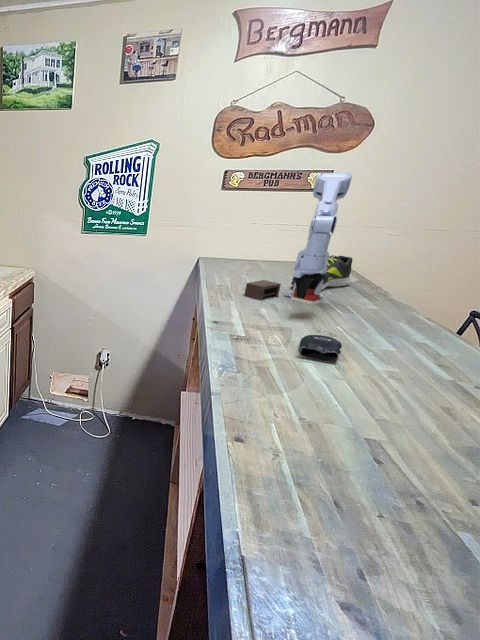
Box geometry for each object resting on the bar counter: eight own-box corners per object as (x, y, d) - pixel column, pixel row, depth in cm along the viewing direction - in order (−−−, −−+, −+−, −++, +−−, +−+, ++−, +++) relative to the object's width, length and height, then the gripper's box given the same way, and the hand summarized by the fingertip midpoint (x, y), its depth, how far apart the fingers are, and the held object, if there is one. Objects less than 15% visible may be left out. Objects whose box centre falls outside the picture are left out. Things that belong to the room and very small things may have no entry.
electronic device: (339, 369, 116) (341, 344, 126) (341, 350, 113) (344, 325, 124) (295, 365, 121) (301, 341, 132) (297, 347, 119) (303, 324, 129)
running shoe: (280, 287, 187) (288, 256, 182) (326, 279, 198) (334, 250, 193) (307, 293, 177) (315, 261, 172) (353, 285, 189) (362, 254, 184)
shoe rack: (260, 292, 180) (263, 279, 178) (277, 296, 174) (281, 283, 172) (244, 295, 176) (246, 282, 174) (260, 300, 170) (263, 286, 168)
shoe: (290, 299, 152) (293, 287, 151) (297, 297, 154) (300, 286, 152) (311, 304, 147) (314, 292, 145) (319, 303, 148) (322, 291, 147)
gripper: (314, 259, 138) (302, 302, 144) (341, 254, 144) (329, 296, 150) (291, 255, 144) (281, 297, 150) (318, 251, 150) (307, 291, 156)
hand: (303, 296), depth 150 cm, fingers closed on shoe, 3 cm apart
